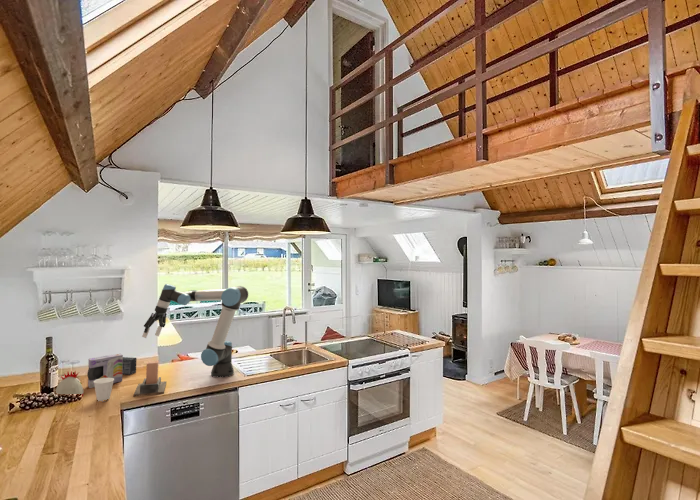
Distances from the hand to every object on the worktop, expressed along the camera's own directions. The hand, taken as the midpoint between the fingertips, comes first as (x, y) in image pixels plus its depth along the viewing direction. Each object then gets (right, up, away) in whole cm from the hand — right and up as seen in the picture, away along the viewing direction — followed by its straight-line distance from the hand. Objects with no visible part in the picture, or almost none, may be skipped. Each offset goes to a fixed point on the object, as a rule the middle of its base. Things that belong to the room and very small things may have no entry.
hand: (150, 336), depth 263 cm
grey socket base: (+13, -27, -24) cm, 39 cm away
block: (+11, -26, -19) cm, 34 cm away
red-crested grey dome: (-26, -26, -40) cm, 55 cm away
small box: (-19, -27, +5) cm, 34 cm away
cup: (-5, -27, -43) cm, 50 cm away
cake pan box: (-20, -27, -17) cm, 38 cm away
